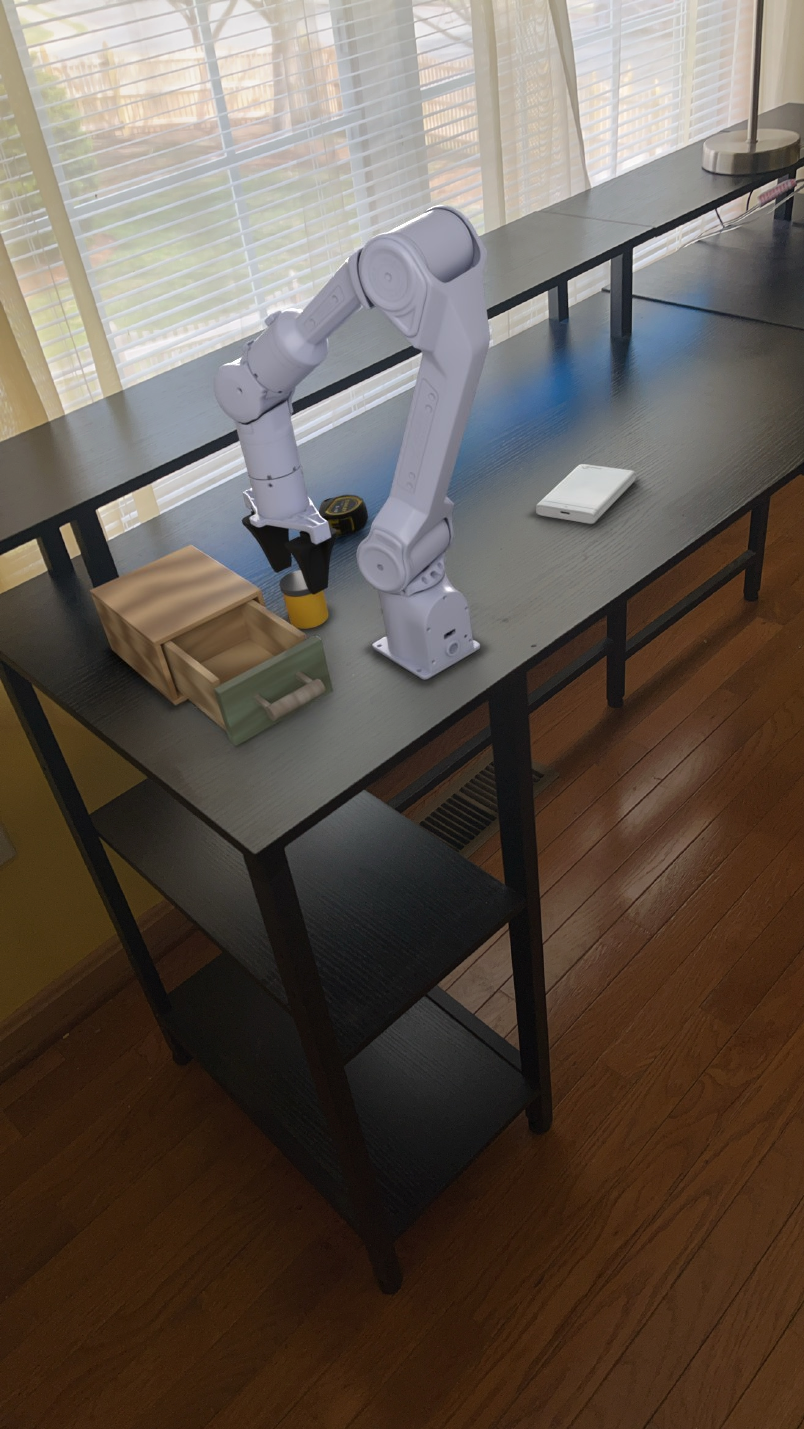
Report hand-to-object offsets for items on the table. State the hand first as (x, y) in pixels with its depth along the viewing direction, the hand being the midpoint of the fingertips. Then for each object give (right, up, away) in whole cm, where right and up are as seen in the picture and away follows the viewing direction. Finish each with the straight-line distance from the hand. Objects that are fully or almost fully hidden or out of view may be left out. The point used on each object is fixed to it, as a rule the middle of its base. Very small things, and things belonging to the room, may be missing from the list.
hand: (300, 579), depth 118 cm
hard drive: (+36, +13, +17) cm, 42 cm away
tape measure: (+3, +9, +20) cm, 22 cm away
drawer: (-4, -14, -9) cm, 17 cm away
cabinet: (-13, -8, +1) cm, 15 cm away
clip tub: (+1, -4, +3) cm, 5 cm away
